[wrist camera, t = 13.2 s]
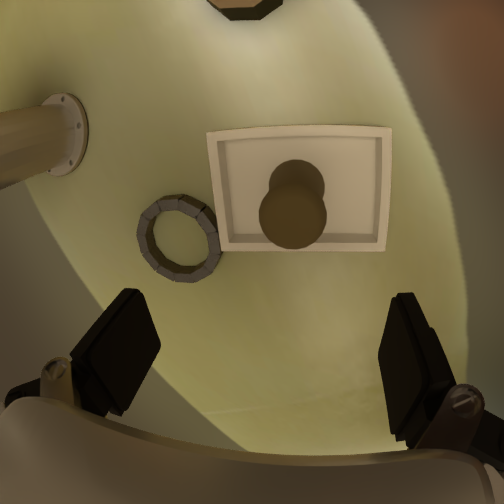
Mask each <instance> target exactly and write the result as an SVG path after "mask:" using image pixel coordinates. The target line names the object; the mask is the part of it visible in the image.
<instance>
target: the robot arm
mask: <svg viewBox="0 0 504 504" xmlns="http://www.w3.org/2000/svg"><path fill="white" fill-rule="evenodd" d="M87 135H88V127H87V119H86V115H85V112H84V109H83V107H82V105H81V103H80V102H79V101H78V100H77V99H76V98H75V97H74V96H73V95H71V94H68V93H57V94H53V95H52V96H50V97H48V98H47V99H46V100H45V101H44V102H43V103H42V105H41V106H34V107H28V108H22V109H16V110H11V111H6V112H1V113H0V190H2V189H4V188H6V187H8V186H11V185H13V184H15V183H18V182H20V181H22V180H25V179H27V178H29V177H32V176H34V175H37V174H40V173H42V172H45V171H46V172H47V173H48V174H50V175H52V176H63V175H66V174H68V173H70V172H72V171H73V170H74V169H75V168H76V167H77V166H78V164H79V163H80V161H81V159H82V157H83V155H84V152H85V148H86V144H87ZM160 348H161V342H160V339H159V337H158V334H157V331H156V329H155V326H154V323H153V320H152V318H151V315H150V312H149V309H148V306H147V303H146V301H145V298H144V295H143V294H142V293H141V292H140V291H139V290H138V289H132V288H125V289H123V290H122V291H121V292H120V294H119V295H118V296H117V297H116V298H115V299H114V301H113V302H112V303H111V304H110V305H109V306H108V307H107V309H106V310H105V311H104V312H103V313H102V315H101V316H100V317H99V318H98V319H97V321H96V322H95V323H94V324H93V325H92V327H91V328H90V329H89V330H88V331H87V333H86V334H85V335H84V336H83V338H82V339H81V340H80V341H79V343H78V344H77V345H76V346H75V348H74V349H73V350H72V351H71V353H70V356H71V357H72V361H71V362H70V361H69V360H68V359H67V358H65V357H55V358H53V359H51V360H50V361H48V362H47V363H46V364H45V365H44V367H43V368H42V370H41V378H38V379H36V380H33V381H30V382H28V383H25V384H22V385H19V386H16V387H15V388H13V389H11V390H10V391H9V392H8V394H7V396H6V398H5V403H4V402H1V403H0V504H504V420H502V419H501V418H499V417H497V416H495V415H493V414H492V413H489V412H488V411H486V410H484V408H485V400H484V397H483V395H482V393H481V392H480V391H479V390H478V389H477V388H476V387H474V386H473V385H470V384H458V385H457V384H456V381H455V379H454V376H453V373H452V371H451V368H450V365H449V363H448V360H447V358H446V355H445V353H444V351H443V348H442V346H441V343H440V341H439V339H438V337H437V334H436V332H435V330H434V329H433V328H432V327H429V325H428V322H427V320H426V318H425V316H424V314H423V312H422V309H421V307H420V305H419V303H418V301H417V299H416V297H415V295H414V293H412V292H410V293H398V294H397V295H396V297H393V298H392V299H391V303H390V308H389V312H388V316H387V321H386V325H385V329H384V333H383V336H382V340H381V344H380V347H379V351H378V361H379V366H380V371H381V376H382V382H383V387H384V393H385V399H386V405H387V412H388V419H389V426H390V432H391V434H392V435H393V434H395V438H396V442H398V441H404V440H405V441H406V446H407V447H408V449H407V450H402V451H391V452H380V453H369V454H354V455H323V456H308V455H280V454H266V453H256V452H246V451H238V450H230V449H224V448H217V447H211V446H205V445H201V444H195V443H191V442H186V441H181V440H176V439H173V438H169V437H165V436H161V435H157V434H153V433H149V432H146V431H143V430H139V429H136V428H133V427H130V426H127V425H123V424H120V423H118V422H115V421H112V420H109V419H108V417H107V413H108V411H110V413H112V414H115V415H118V416H122V414H123V412H124V411H126V410H127V409H128V408H129V406H130V404H131V403H132V400H133V399H134V397H135V395H136V393H137V391H138V389H139V387H140V385H141V384H142V382H143V380H144V378H145V376H146V374H147V372H148V370H149V369H150V367H151V365H152V363H153V361H154V360H155V358H156V356H157V354H158V352H159V350H160Z"/></svg>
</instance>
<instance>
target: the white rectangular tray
mask: <svg viewBox="0 0 504 504" xmlns="http://www.w3.org/2000/svg"><path fill="white" fill-rule="evenodd" d="M206 137H207V146H208V154H209V163H210V171H211V179H212V187H213V195H214V202H215V210H216V217H217V224H218V231H219V238H220V245H221V251H355V252H385V247H386V238H387V229H388V218H389V206H390V191H391V165H392V128H389V127H380V126H363V125H282V126H264V127H250V128H239V129H229V130H219V131H212V132H207V133H206ZM292 159H297V160H304V161H307V162H309V163H311V164H312V165H314V166H315V167H316V168H317V169H318V170H319V171H320V173H321V174H322V176H323V179H324V183H325V191H324V196H323V201H324V204H325V208H326V211H327V221H326V226H325V228H324V230H323V233H322V235H321V236H320V237H319V238H318V239H317V240H316V241H315V242H314V243H313V244H311V245H309V246H308V247H305V248H301V249H297V250H294V249H285V248H282V247H279V246H277V245H275V244H274V243H272V242H271V241H270V240H268V238H267V237H266V236H265V234H264V233H263V231H262V229H261V226H260V223H259V208H260V205H261V201H262V199H263V198H264V197H265V195H266V194H267V193H268V191H269V180H270V176H271V174H272V172H273V171H274V170H275V168H276V167H277V166H278V165H280V164H281V163H283V162H285V161H288V160H292Z"/></svg>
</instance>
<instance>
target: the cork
mask: <svg viewBox="0 0 504 504" xmlns="http://www.w3.org/2000/svg"><path fill="white" fill-rule="evenodd" d="M324 191H325V183H324V179H323V176H322V174H321V173H320V171H319V170H318V169H317V168H316V167H315V166H314V165H312V164H311V163H309V162H307V161H304V160H297V159H292V160H288V161H285V162H283V163H281V164H280V165H278V166H277V167H276V168H275V170H274V171H273V172H272V174H271V176H270V180H269V191H268V193H267V194H266V195H265V197H264V198H263V199H262V201H261V205H260V208H259V223H260V226H261V229H262V231H263V233H264V234H265V236H266V237H267V238H268V240H270V241H271V242H272V243H274V244H275V245H277V246H279V247H282V248H285V249H294V250H297V249H301V248H305V247H308V246H309V245H311V244H313V243H314V242H315V241H316V240H317V239H318V238H319V237H320V236H321V235H322V233H323V230H324V228H325V226H326V221H327V211H326V208H325V204H324V201H323V196H324Z"/></svg>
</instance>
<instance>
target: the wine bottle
mask: <svg viewBox="0 0 504 504" xmlns="http://www.w3.org/2000/svg"><path fill="white" fill-rule="evenodd" d="M207 1H208V2H209V3H210V4H211V5H212V6H213V7H214V8H215V9H217V10H218V11H219V12H220V13H222V14H223V15H224V16H225V17H227V18H228V19H229V20H230V21H234V20H261V19H262V18H264V17H265V16H266V15H268V14H269V13H271V12H272V11H273V10H275V9H276V8H278V7H279V6H281V5H282V4H283V0H207Z"/></svg>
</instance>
